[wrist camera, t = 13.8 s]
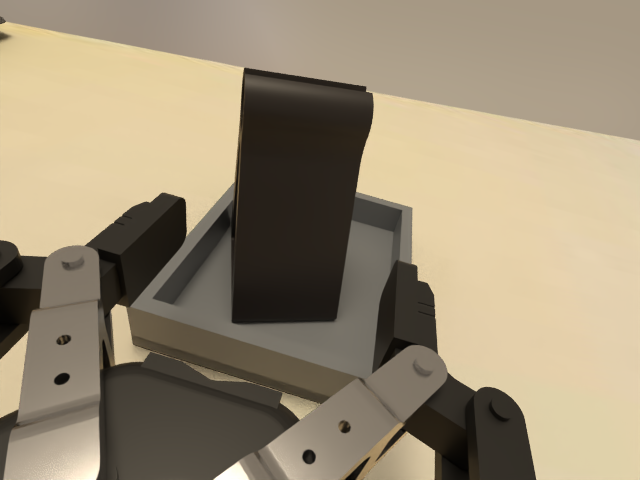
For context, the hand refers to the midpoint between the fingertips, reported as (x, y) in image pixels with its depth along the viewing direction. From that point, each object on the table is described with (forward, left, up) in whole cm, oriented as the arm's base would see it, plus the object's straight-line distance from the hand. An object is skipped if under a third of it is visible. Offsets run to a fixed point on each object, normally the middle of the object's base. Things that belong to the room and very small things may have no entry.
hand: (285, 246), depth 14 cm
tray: (0, +8, -9) cm, 12 cm away
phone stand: (-1, +7, -8) cm, 11 cm away
